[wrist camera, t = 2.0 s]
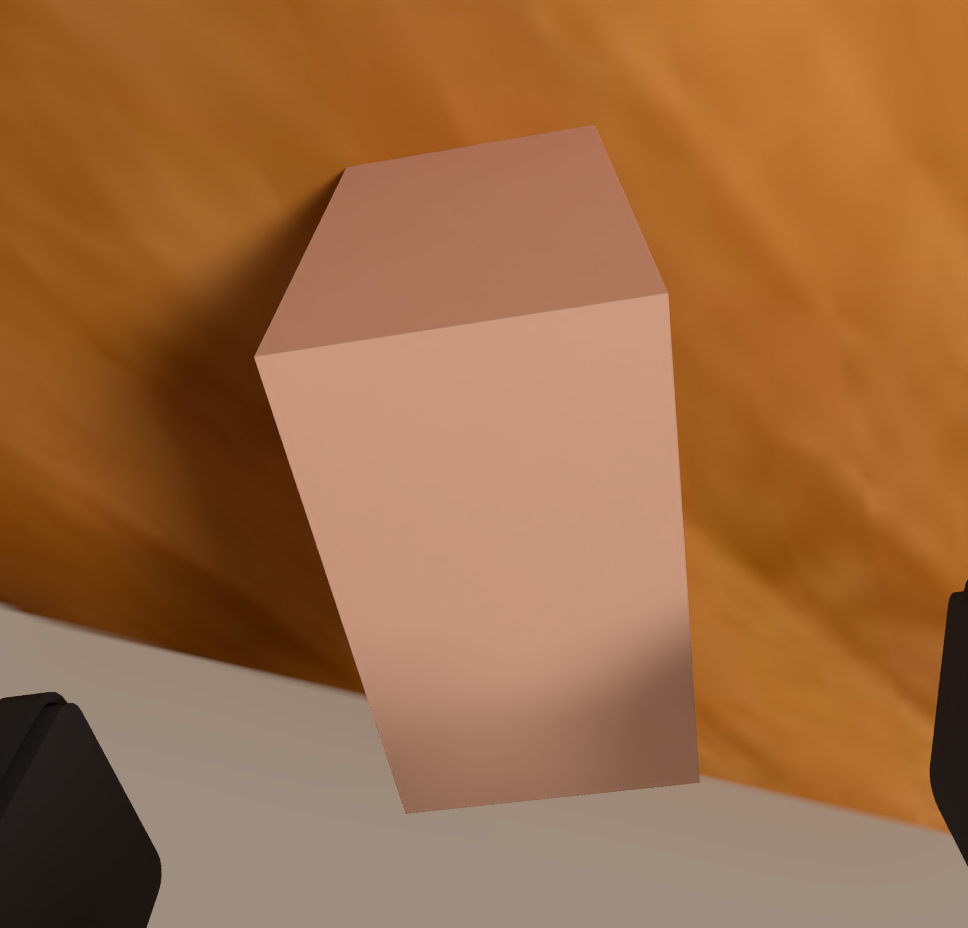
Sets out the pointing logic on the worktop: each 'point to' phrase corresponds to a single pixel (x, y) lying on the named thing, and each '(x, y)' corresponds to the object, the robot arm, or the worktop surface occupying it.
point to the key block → (495, 470)
